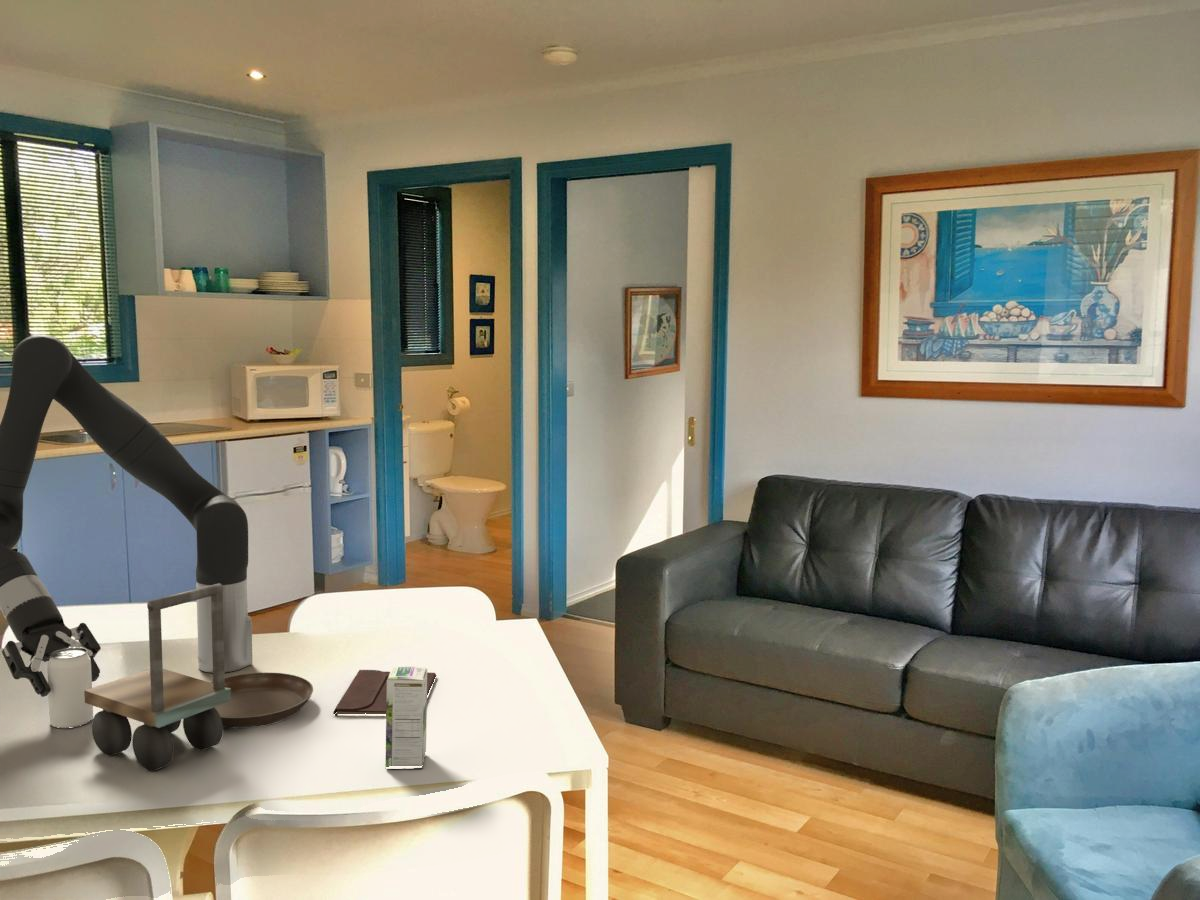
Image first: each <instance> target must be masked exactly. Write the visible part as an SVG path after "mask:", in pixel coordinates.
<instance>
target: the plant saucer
mask: <svg viewBox="0 0 1200 900" xmlns="http://www.w3.org/2000/svg"><path fill="white" fill-rule="evenodd" d="M210 683H213V681H212V682H210ZM225 687H227V688H230V689H231V701H229V702H227V703H224V704H221V705H219V706H216V707H214V708H215V709H216V710H217V711H218V713H219V715H220V717H221V720H222V724H223V728H227V729H228V728H229V729H245V728H246V729H249V728H257V727H259V728H260V727H264V726H269V725H272V724H276V722H277V723H278V722H279V721H280V722H282V721H285V720H287V719H289V718H291V717H292V716H294V715H296V714H297V713H298V712H299V711H300V710H301V709H302V708H303V707H304V706H305V705H306V704H307V703H308V701H309V700H310V698H311V697H312V695H313V692H314V687H313V684H312V683H311V681H308V680H307V679H306V678H303V677H301V676H299V675H295V674H289V673H283V672H253V673H245V674H238V675H231V676H227V677H225Z"/></svg>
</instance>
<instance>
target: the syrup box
mask: <svg viewBox="0 0 1200 900" xmlns="http://www.w3.org/2000/svg"><path fill="white" fill-rule="evenodd" d="M389 672H390V674H389V677H388V680H387V700H386V717H385V719H386V720H385V766H386V767H389V766H422V765H423V766H424V764H423V762H424V763H425V759H424V757H425V758H426V754H425V752H427V720H428V719H427V718H428V717H427V716H428V715H427V713H428V712H427V711H428V709H427V708H428V706H427V705H428V700H427V673H428V668H426V667H419V666H396V667H391V669H390V671H389Z"/></svg>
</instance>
